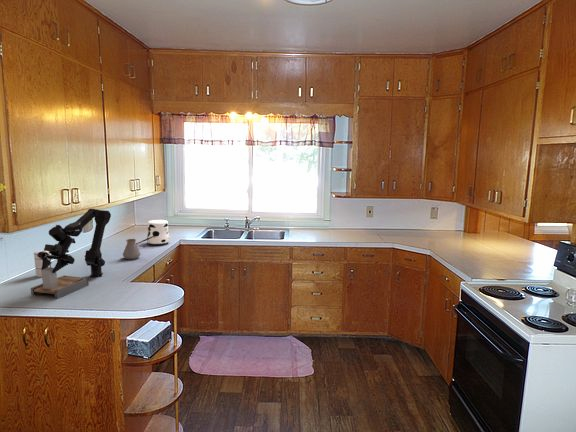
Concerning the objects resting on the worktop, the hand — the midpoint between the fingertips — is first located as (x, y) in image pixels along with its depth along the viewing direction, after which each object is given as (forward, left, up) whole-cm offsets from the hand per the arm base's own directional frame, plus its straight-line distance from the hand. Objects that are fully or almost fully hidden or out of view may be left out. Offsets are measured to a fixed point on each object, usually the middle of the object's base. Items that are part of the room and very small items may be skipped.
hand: (47, 272), depth 202 cm
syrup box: (-36, -11, -12) cm, 40 cm away
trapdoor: (-6, +4, -12) cm, 13 cm away
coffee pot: (-65, +41, -12) cm, 78 cm away
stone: (-1, +1, -8) cm, 9 cm away
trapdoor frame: (-7, +4, -12) cm, 14 cm away
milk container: (-106, +54, -12) cm, 119 cm away
